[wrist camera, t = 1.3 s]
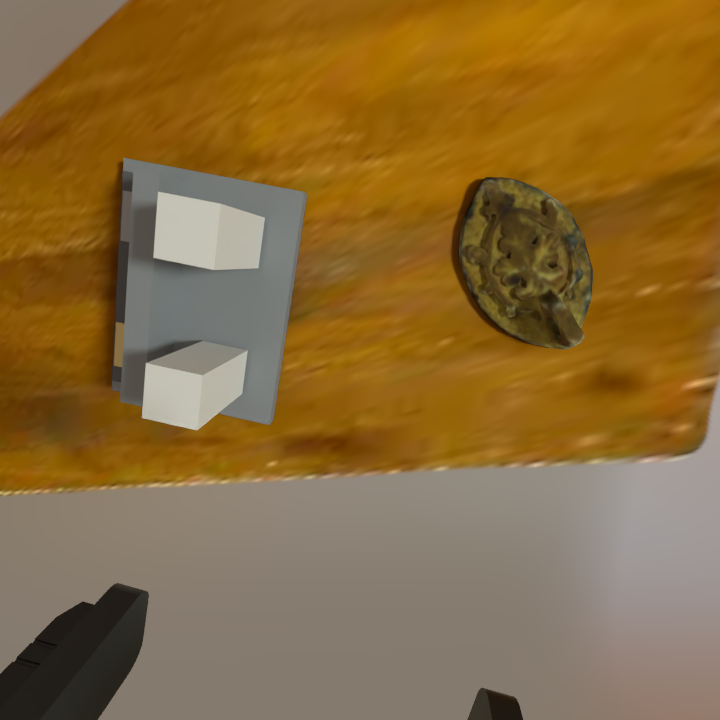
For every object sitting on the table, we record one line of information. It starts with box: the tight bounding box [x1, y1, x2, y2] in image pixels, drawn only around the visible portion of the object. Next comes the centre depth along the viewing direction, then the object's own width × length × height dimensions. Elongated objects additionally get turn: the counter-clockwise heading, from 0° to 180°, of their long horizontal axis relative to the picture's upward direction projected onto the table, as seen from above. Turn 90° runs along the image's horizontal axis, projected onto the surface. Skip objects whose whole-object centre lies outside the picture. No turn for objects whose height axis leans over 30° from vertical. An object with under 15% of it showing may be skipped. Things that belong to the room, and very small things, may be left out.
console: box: [112, 158, 307, 425], centre depth 35 cm, size 15×20×5 cm
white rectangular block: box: [153, 192, 265, 270], centre depth 31 cm, size 4×4×8 cm
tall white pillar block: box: [142, 341, 248, 430], centre depth 33 cm, size 4×4×8 cm
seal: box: [459, 177, 593, 349], centre depth 33 cm, size 9×5×15 cm
